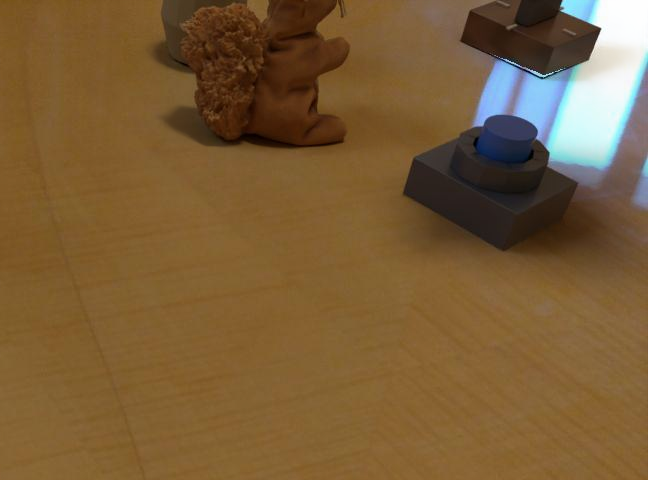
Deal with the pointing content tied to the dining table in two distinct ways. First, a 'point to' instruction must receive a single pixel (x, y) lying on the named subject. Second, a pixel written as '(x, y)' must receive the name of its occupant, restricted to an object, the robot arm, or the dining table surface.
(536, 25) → the panel
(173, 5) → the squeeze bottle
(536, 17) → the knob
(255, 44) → the stuffed squirrel
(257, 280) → the dining table surface
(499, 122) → the blue push button
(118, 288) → the dining table surface
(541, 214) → the push button base
